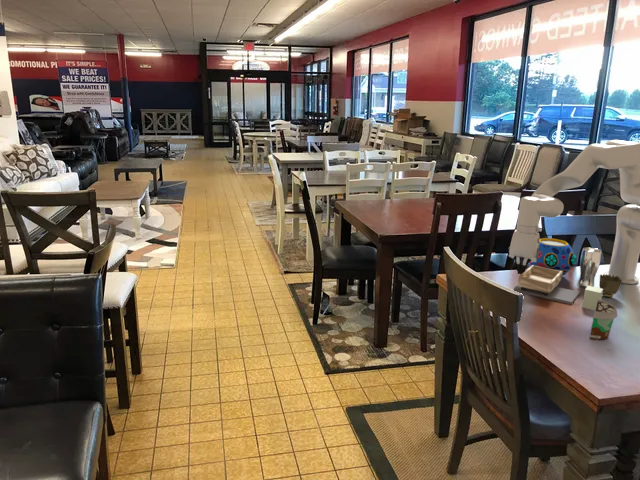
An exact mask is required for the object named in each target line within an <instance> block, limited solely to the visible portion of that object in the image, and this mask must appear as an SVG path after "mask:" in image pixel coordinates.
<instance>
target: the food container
mask: <svg viewBox="0 0 640 480" xmlns="http://www.w3.org/2000/svg"><path fill="white" fill-rule="evenodd" d="M593 313H594V314H593V318H592V323H591V330H590V333H589V334H590V335H589V340H591V341H598V342H599V341H600V342H602V341H607V340H608V339H609V337H610V334H611V329H612V326H613V323H614V320H615V318H617V317H618V310H617V307H616V306H615V305H614V304H613V303H610V302H608V301H605V300H602V299H601V300H598V301H597V306H596V310H594V312H593Z"/></svg>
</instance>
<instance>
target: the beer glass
mask: <svg viewBox="0 0 640 480" xmlns="http://www.w3.org/2000/svg"><path fill="white" fill-rule="evenodd" d="M601 258H602V250H601V249H598V248H595V247H583V248H582V251H581V255H580V259H579V260H580V261H579V262H580V263H579V271H580V272H579V273H580V274H579V279H578V281H577V285H578V286H580V287H582V288H585V289H586V288H587V286H592V287H595V278H596V274H597V273H598V270H599V267H600V264H601Z"/></svg>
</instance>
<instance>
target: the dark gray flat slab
mask: <svg viewBox="0 0 640 480" xmlns="http://www.w3.org/2000/svg"><path fill="white" fill-rule="evenodd" d="M513 290H515V291H514V292H517V291H518V292H517V293H521V294H524V295H525V294H526V295H531V296H533V297H537V298H543V299H547V300H550V301H554V302H559V303H562V304H566V303H567V305H571V306H572V305H573V303H574V302H575V301H576V299H577V298H578V297H579V295H580V291H576V290H573V289H567V288H563V287H560V286H556V287H555V288H554V289H553V290H552V291H551V292H550V293H549V294H548V295H547V296H544V295H543V292H542V291H537V290H533V289H529V288H527V289H526V290H524V291H523V290H521V286H518V284H517V285H515V286H514V287H513Z"/></svg>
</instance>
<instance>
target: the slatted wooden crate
mask: <svg viewBox="0 0 640 480" xmlns="http://www.w3.org/2000/svg"><path fill="white" fill-rule="evenodd" d="M562 272H563V271H558V270H554V269H549V268H544V267H539V266H534V265H532V266H530V265H529V267H528V268H526V271H525V272H523V273H522V274H521V275H520V274H519V276H518V281H517V285H518V286H521V290H523V291H524V290H526V289H527V288H529V289H533V290H537V291H542V292H543V295H544V296H547V295H548V294H549V293H550V292H551V291H552V290H553V289H554V288H555V287H558V285H559V284H560V282H561V281H562V277H563V276H562Z"/></svg>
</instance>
